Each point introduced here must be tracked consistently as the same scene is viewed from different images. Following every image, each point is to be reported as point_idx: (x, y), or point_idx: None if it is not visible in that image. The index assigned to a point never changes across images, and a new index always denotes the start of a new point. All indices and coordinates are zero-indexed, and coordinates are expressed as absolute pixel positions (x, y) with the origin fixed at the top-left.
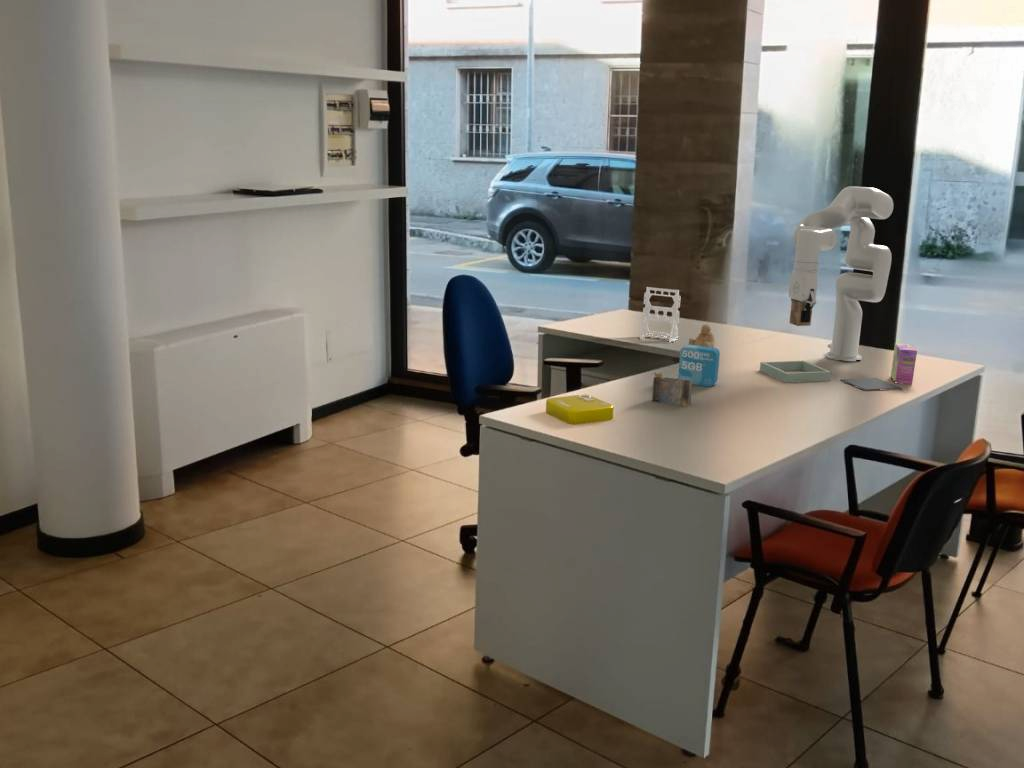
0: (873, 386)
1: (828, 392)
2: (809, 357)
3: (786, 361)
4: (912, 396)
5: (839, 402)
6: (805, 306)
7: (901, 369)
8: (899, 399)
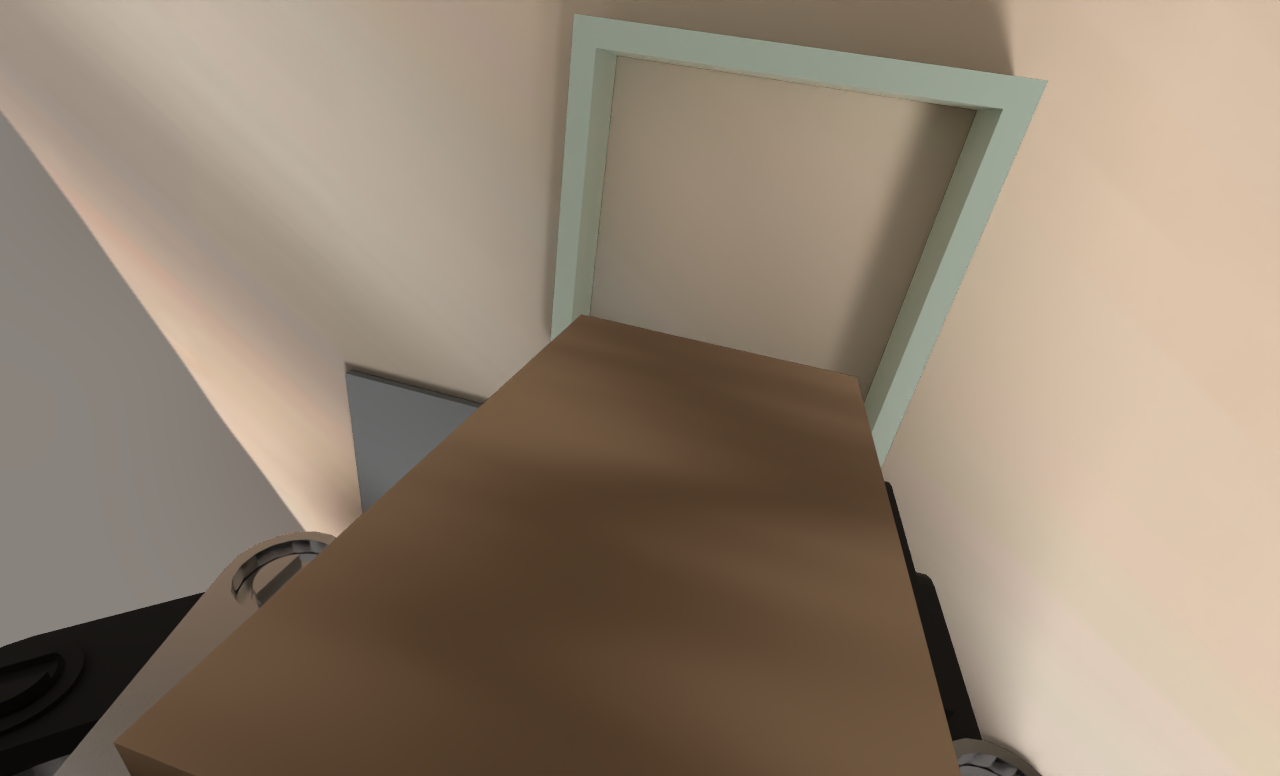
0: (394, 453)
1: (330, 146)
2: (1077, 695)
3: (920, 342)
4: (267, 478)
5: (128, 34)
6: (175, 652)
7: None
8: (219, 392)
